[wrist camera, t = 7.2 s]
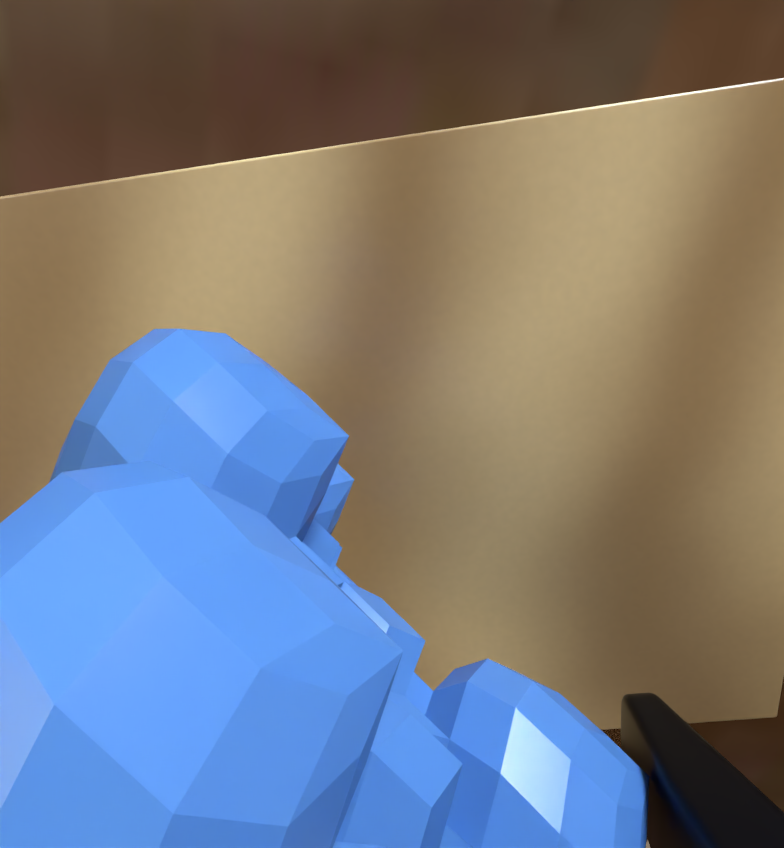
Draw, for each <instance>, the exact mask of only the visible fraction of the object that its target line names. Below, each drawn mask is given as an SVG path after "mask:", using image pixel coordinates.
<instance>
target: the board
mask: <svg viewBox="0 0 784 848" xmlns="http://www.w3.org/2000/svg"><path fill="white" fill-rule="evenodd" d="M153 329H188V330H197V331H207V332H217V333H226V334H227V335H228V336H230V337H231V338H233V339H234V340H235V341H237V342H238V343H240V344H241V345H243V346H244V347H245V348H247V349H248V350H250V351H251V352H253V353H254V354H255V355H257V356H258V357H260V358H261V359H263V360H264V361H265V362H267V363H268V364H270V365H271V366H272V367H273V368H274V369H276V370H277V371H278V372H279V373H281V374H282V375H283V376H284V377H286V378H287V379H288V380H289V381H291V382H292V383H293V384H294V385H296V386H297V387H298V388H299V389H300V390H302V391H303V392H304V393H305V394H307V395H308V396H309V397H310V398H311V399H312V400H313V401H314V402H315V403H316V404H317V405H318V406H319V407H320V408H321V409H322V410H323V411H324V412H325V413H326V414H327V415H328V416H329V417H330V418H331V419H332V420H333V421H334V422H335V423H336V424H337V425H338V426H339V427H341V428H342V429H343V430H344V431H345V432H346V433H347V434H348V435H349V437H348V440H347V442H346V445H345V447H344V450H343V452H342V455H341V457H340V459H339V462H338V464H339V465H340V466H341V467H342V468H343V469H344V470H345V471H346V472H347V473H348V474H349V475H350V476H351V477H352V478H353V479H354V482H353V484H352V487H351V489H350V492H349V495H348V497H347V500H346V502H345V505H344V507H343V510H342V512H341V515H340V517H339V520H338V522H337V524H336V526H335V528H334V530H333V532H332V534H331V536H332V537H333V538H334V539H335V540H336V541H338V542H339V545H340V546H341V547H342V550H341V552H340V555H339V558H338V560H337V563H336V566H337V567H338V568H339V569H340V570H341V571H343V572H344V573H345V574H346V575H347V576H348V577H349V578H350V579H351V580H352V581H353V582H354V583H355V584H356V585H357V586H358V587H360V588H362V589H364V590H366V591H368V592H370V593H372V594H374V595H376V596H378V597H380V598H382V599H383V600H384V601H385V602H386V603H387V604H388V605H389V606H390V607H391V608H392V609H393V610H394V611H395V612H396V613H397V614H398V615H399V616H400V617H401V618H402V619H404V620H405V621H406V622H407V623H408V624H409V625H410V626H411V627H412V628H413V629H414V630H415V631H416V632H417V633H418V634H419V635H420V636H421V637H422V638H423V639H424V640H425V644H424V647H423V649H422V652H421V654H420V657H419V660H418V662H417V665H416V667H415V670H414V672H415V673H416V674H417V675H418V676H419V677H420V678H421V679H422V680H423V681H424V682H425V683H426V684H427V685H428V686H429V687H430V688H431V689H432V690H433V691H434V690H435V689H436V688H437V687H438V686H439V685H440V684H441V683H442V682H443V681H444V679H445V678H446V677H447V676H448V675H449V674H450V673H451V672H452V671H453V670H454V669H456V668H459V667H462V666H466V665H469V664H472V663H475V662H478V661H481V660H484V659H490V660H492V661H494V662H497V663H499V664H501V665H503V666H506V667H508V668H510V669H512V670H514V671H516V672H518V673H520V674H522V675H524V676H526V677H528V678H530V679H532V680H534V681H536V682H538V683H540V684H542V685H544V686H546V687H548V688H550V689H552V690H554V691H556V692H558V693H560V694H561V695H562V696H563V697H564V698H566V699H567V700H568V701H569V702H570V703H571V704H572V705H573V706H574V707H576V708H577V709H578V710H579V711H580V712H581V713H582V714H583V715H585V716H586V717H587V718H588V719H589V720H590V721H591V722H592V723H594V724H595V725H596V726H597V727H598V728H599V729H600V730H607V729H620V728H621V702H622V698H623V696H624V695H626V694H635V693H653V694H655V695H657V696H658V697H660V698H661V699H662V700H663V701H664V702H665V703H666V704H667V705H668V706H669V707H670V708H672V709H673V710H674V711H675V712H676V713H677V714H678V715H679V716H680V717H681V718H682V719H683V720H684V721H686V722H687V723H702V722H715V721H729V720H743V719H756V718H770V717H776V716H777V713H778V707H779V701H780V695H781V689H782V683H783V677H784V78H779V79H773V80H766V81H759V82H753V83H746V84H740V85H733V86H726V87H720V88H713V89H707V90H700V91H693V92H687V93H680V94H674V95H667V96H660V97H654V98H647V99H641V100H634V101H627V102H621V103H614V104H608V105H601V106H594V107H588V108H581V109H575V110H568V111H561V112H555V113H548V114H542V115H535V116H528V117H522V118H515V119H509V120H502V121H496V122H489V123H482V124H476V125H469V126H463V127H456V128H449V129H443V130H436V131H430V132H423V133H416V134H410V135H403V136H397V137H390V138H383V139H377V140H370V141H364V142H357V143H350V144H344V145H337V146H331V147H324V148H317V149H311V150H304V151H298V152H291V153H284V154H278V155H271V156H265V157H258V158H251V159H245V160H238V161H232V162H225V163H218V164H212V165H205V166H199V167H192V168H185V169H179V170H172V171H166V172H159V173H152V174H146V175H139V176H133V177H126V178H119V179H113V180H106V181H100V182H93V183H86V184H80V185H73V186H67V187H60V188H53V189H47V190H40V191H34V192H27V193H20V194H14V195H7V196H1V197H0V523H1V522H2V521H3V520H5V519H6V518H7V517H8V516H10V515H11V514H12V513H13V512H14V511H16V510H17V509H18V508H19V507H20V506H22V505H23V504H24V503H25V502H27V501H28V500H29V499H30V498H31V497H33V496H34V495H35V494H36V493H37V492H39V491H40V490H41V489H42V488H44V487H45V486H46V485H47V484H48V483H49V481H50V478H51V476H52V473H53V470H54V467H55V465H56V462H57V459H58V456H59V454H60V451H61V448H62V446H63V444H64V442H65V439H66V437H67V435H68V433H69V431H70V429H71V426H72V424H73V422H74V420H75V418H76V416H77V415H78V413H79V411H80V410H81V408H82V406H83V404H84V403H85V401H86V399H87V398H88V396H89V394H90V393H91V391H92V389H93V388H94V386H95V384H96V382H97V381H98V379H99V377H100V376H101V374H102V372H103V371H104V369H105V367H106V366H107V364H108V362H109V360H110V359H112V358H113V357H115V356H116V355H118V354H119V353H120V352H122V351H123V350H125V349H126V348H128V347H129V346H130V345H132V344H133V343H135V342H136V341H138V340H139V339H140V338H142V337H143V336H145V335H146V334H148V333H149V332H150V331H152V330H153Z"/></svg>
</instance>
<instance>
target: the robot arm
mask: <svg viewBox="0 0 784 848" xmlns="http://www.w3.org/2000/svg"><path fill="white" fill-rule="evenodd" d="M621 746H622V750H623V751H624V752H625V753H626V754H627V755H628V756H629V757H630V758H631V759H632V760H633V761H634V762H635V763H636V764H637V765H638V766H639V767H640V768H641V769H642V770H643V771H644V772H645V773H646V774H647V775H648V776H649V777H650V778H649V799H648V820H647V837H648V841H649V844H650V847H651V848H784V812H783V811H782V810H781V809H780V808H778V807H777V806H776V805H775V804H774V803H773V802H772V801H771V800H770V799H769V798H768V797H767V796H765V795H764V794H763V793H762V792H761V791H760V790H759V789H758V788H757V787H756V786H755V785H754V784H753V783H751V782H750V781H749V780H748V779H747V778H746V777H745V776H744V775H743V774H742V773H741V772H740V771H738V770H737V769H736V768H735V767H734V766H733V765H732V764H731V763H730V762H729V761H728V760H727V759H726V758H724V757H723V756H722V755H721V754H720V753H719V752H718V751H717V750H716V749H715V748H714V747H713V746H711V745H710V744H709V743H708V742H707V741H706V740H705V739H704V738H703V737H702V736H701V735H700V734H699V733H697V732H696V731H695V730H694V729H693V728H692V727H691V726H690V725H689V724H688V723H687V722H686V721H684V720H683V719H682V718H681V717H680V716H679V715H678V714H677V713H676V712H675V711H674V710H673V709H672V708H670V707H669V706H668V705H667V704H666V703H665V702H664V701H663V700H662V699H661V698H660V697H658V696H657V695H655V694H653V693H635V694H626V695H624V696H623V698H622V702H621Z"/></svg>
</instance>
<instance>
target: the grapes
mask: <svg viewBox="0 0 784 848" xmlns="http://www.w3.org/2000/svg"><path fill="white" fill-rule="evenodd" d="M348 437H349V435H348V434H347V433H346V432H345V431H344V430H343V429H342V428H341V427H339V426H338V425H337V424H336V423H335V422H334V421H333V420H332V419H331V418H330V417H329V416H328V415H327V414H326V413H325V412H324V411H323V410H322V409H321V408H320V407H319V406H318V405H317V404H316V403H315V402H314V401H313V400H312V399H311V398H310V397H309V396H308V395H307V394H305V393H304V392H303V391H302V390H300V389H299V388H298V387H297V386H296V385H294V384H293V383H292V382H291V381H289V380H288V379H287V378H286V377H284V376H283V375H282V374H281V373H279V372H278V371H277V370H276V369H274V368H273V367H272V366H271V365H270V364H268V363H267V362H265V361H264V360H263V359H261V358H260V357H258V356H257V355H255V354H254V353H253V352H251V351H250V350H248V349H247V348H245V347H244V346H243V345H241V344H240V343H238V342H237V341H235V340H234V339H233V338H231V337H230V336H228V335H227V334H226V333H217V332H207V331H197V330H188V329H153V330H152V331H150V332H149V333H148V334H146V335H145V336H143V337H142V338H140V339H139V340H138V341H136V342H135V343H133V344H132V345H130V346H129V347H128V348H126V349H125V350H123V351H122V352H120V353H119V354H118V355H116V356H115V357H113V358H112V359H110V360H109V362H108V364H107V366H106V367H105V369H104V371H103V372H102V374H101V376H100V377H99V379H98V381H97V382H96V384H95V386H94V388H93V389H92V391H91V393H90V394H89V396H88V398H87V399H86V401H85V403H84V404H83V406H82V408H81V410H80V411H79V413H78V415H77V416H76V418H75V420H74V422H73V424H72V426H71V429H70V431H69V433H68V435H67V437H66V439H65V442H64V444H63V446H62V448H61V451H60V454H59V456H58V459H57V462H56V465H55V467H54V470H53V473H52V476H51V478H50V481H49V483H48V484H47V485H46V486H45V487H44V488H42V489H41V490H40V491H39V492H37V493H36V494H35V495H34V496H33V497H31V498H30V499H29V500H28V501H27V502H25V503H24V504H23V505H22V506H20V507H19V508H18V509H17V510H16V511H14V512H13V513H12V514H11V515H10V516H8V517H7V518H6V519H5V520H3V521H2V522H1V523H0V848H645V847H646V841H647V820H648V799H649V778H650V777H649V776H648V775H647V774H646V773H645V772H644V771H643V770H642V769H641V768H640V767H639V766H638V765H637V764H636V763H635V762H634V761H633V760H632V759H631V758H630V757H629V756H628V755H627V754H626V753H625V752H624V751H623V750H622V749H621V748H620V747H619V746H617V745H616V744H615V743H614V742H613V741H612V740H611V739H610V738H609V737H608V736H607V735H606V734H605V733H604V732H602V731H601V730H600V729H599V728H598V727H597V726H596V725H595V724H594V723H592V722H591V721H590V720H589V719H588V718H587V717H586V716H585V715H583V714H582V713H581V712H580V711H579V710H578V709H577V708H576V707H574V706H573V705H572V704H571V703H570V702H569V701H568V700H567V699H566V698H564V697H563V696H562V695H561V694H560V693H558V692H556V691H554V690H552V689H550V688H548V687H546V686H544V685H542V684H540V683H538V682H536V681H534V680H532V679H530V678H528V677H526V676H524V675H522V674H520V673H518V672H516V671H514V670H512V669H510V668H508V667H506V666H503V665H501V664H499V663H497V662H494V661H492V660H490V659H484V660H481V661H478V662H475V663H472V664H469V665H466V666H462V667H459V668H456V669H454V670H453V671H452V672H451V673H450V674H449V675H448V676H447V677H446V678H445V679H444V681H443V682H442V683H441V684H440V685H439V686H438V687H437V688H436V689H435V690H434V691H433V690H432V689H431V688H430V687H429V686H428V685H427V684H426V683H425V682H424V681H423V680H422V679H421V678H420V677H419V676H418V675H417V674H416V673H415V672H414V670H415V667H416V665H417V662H418V660H419V657H420V654H421V652H422V649H423V647H424V644H425V640H424V639H423V638H422V637H421V636H420V635H419V634H418V633H417V632H416V631H415V630H414V629H413V628H412V627H411V626H410V625H409V624H408V623H407V622H406V621H405V620H404V619H402V618H401V617H400V616H399V615H398V614H397V613H396V612H395V611H394V610H393V609H392V608H391V607H390V606H389V605H388V604H387V603H386V602H385V601H384V600H383V599H382V598H380V597H378V596H376V595H374V594H372V593H370V592H368V591H366V590H364V589H362V588H360V587H358V586H357V585H356V584H355V583H354V582H353V581H352V580H351V579H350V578H349V577H348V576H347V575H346V574H345V573H344V572H343V571H341V570H340V569H339V568H338V567H337V566H336V563H337V560H338V558H339V555H340V552H341V550H342V547H341V546H340V545H339V542H338V541H336V540H335V539H334V538H333V537H332V536H331V534H332V532H333V530H334V528H335V526H336V524H337V522H338V520H339V517H340V515H341V512H342V510H343V507H344V505H345V502H346V500H347V497H348V495H349V492H350V489H351V487H352V484H353V482H354V479H353V478H352V477H351V476H350V475H349V474H348V473H347V472H346V471H345V470H344V469H343V468H342V467H341V466H340V465H339V464H338V462H339V459H340V457H341V455H342V452H343V450H344V447H345V445H346V442H347V440H348Z"/></svg>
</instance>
